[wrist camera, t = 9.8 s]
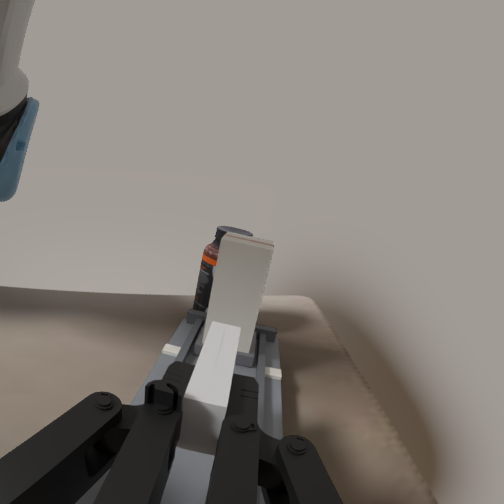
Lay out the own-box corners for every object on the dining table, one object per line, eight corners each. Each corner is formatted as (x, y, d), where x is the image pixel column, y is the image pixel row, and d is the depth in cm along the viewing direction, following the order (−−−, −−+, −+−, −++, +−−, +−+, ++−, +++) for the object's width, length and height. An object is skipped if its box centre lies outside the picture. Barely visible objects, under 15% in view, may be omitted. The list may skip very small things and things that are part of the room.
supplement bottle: (217, 339, 34) (238, 236, 31) (180, 316, 37) (196, 222, 35) (250, 327, 38) (271, 236, 36) (215, 308, 42) (231, 223, 39)
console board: (63, 550, 7) (46, 526, 7) (181, 334, 33) (185, 307, 32) (273, 603, 7) (294, 589, 7) (274, 355, 33) (281, 329, 32)
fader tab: (193, 354, 26) (213, 238, 24) (204, 329, 31) (223, 229, 29) (251, 367, 26) (280, 253, 24) (254, 340, 31) (278, 241, 29)
